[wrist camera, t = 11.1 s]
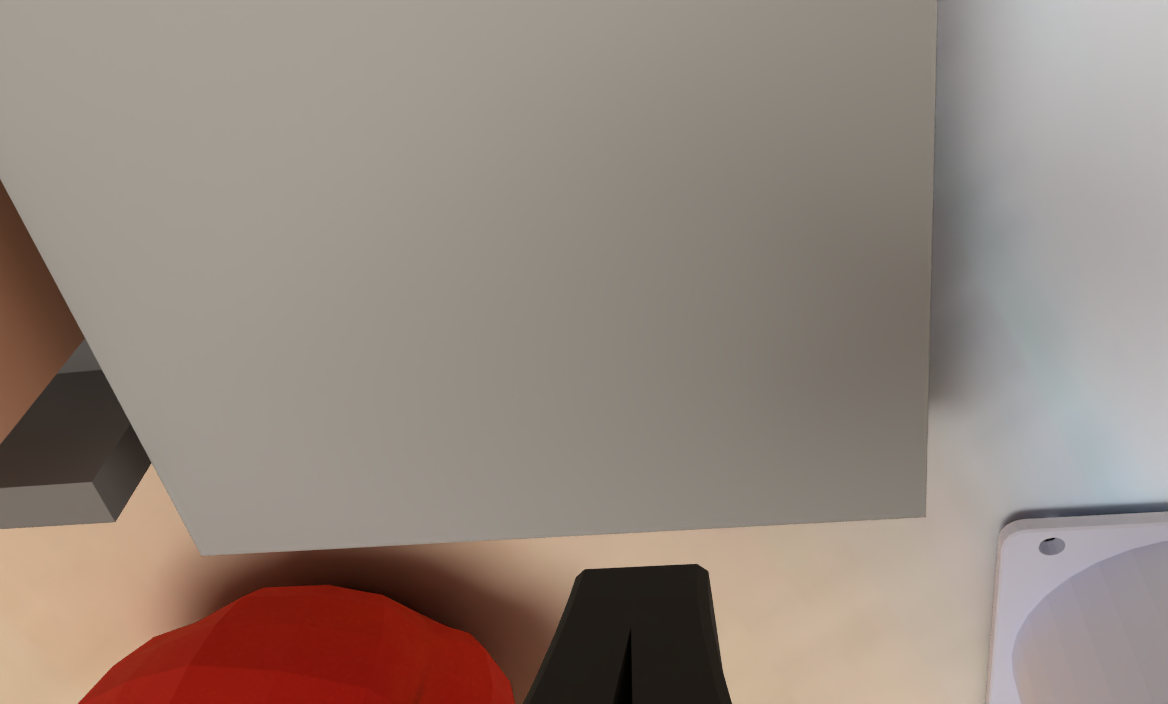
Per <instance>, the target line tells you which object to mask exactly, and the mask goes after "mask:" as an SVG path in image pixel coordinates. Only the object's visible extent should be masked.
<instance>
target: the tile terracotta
mask: <svg viewBox="0 0 1168 704" xmlns="http://www.w3.org/2000/svg"><path fill="white" fill-rule="evenodd" d="M84 339H85V337H84V335H83V333H82V331H81V329H80V327H79V326H78V324H77V322H76V320H75V318H74V316H73V314H72V313H71V311H70V309H69V307H68V305H67V303H66V301H65V299H64V298H63V296H62V294H61V292H60V290H59V288H58V286H57V284H56V283H55V281H54V279H53V277H52V275H51V273H50V271H49V269H48V268H47V266H46V264H45V262H44V260H43V258H42V256H41V254H40V253H39V251H38V249H37V247H36V245H35V243H34V241H33V239H32V238H31V236H30V234H29V232H28V230H27V228H26V226H25V224H24V223H23V221H22V219H21V217H20V215H19V213H18V211H17V209H16V208H15V206H14V204H13V202H12V200H11V198H10V196H9V194H8V193H7V191H6V189H5V187H4V185H3V183H2V181H1V179H0V444H1V443H2V442H3V440H4V439H5V438H6V437H7V435H8V434H9V433H10V432H11V430H12V429H13V428H14V427H15V425H16V424H17V423H18V422H19V420H20V419H21V418H22V417H23V415H24V414H25V413H26V412H27V410H28V409H29V408H30V407H31V405H32V404H33V403H34V402H35V400H36V399H37V398H38V397H39V395H40V394H41V393H42V392H43V390H44V389H45V388H46V386H47V385H48V384H49V383H50V381H51V380H52V379H53V378H54V376H55V375H56V374H57V373H58V371H59V370H60V369H61V368H62V366H63V365H64V364H65V363H66V361H67V360H68V359H69V358H70V356H71V355H72V354H73V353H74V351H75V350H76V349H77V348H78V346H79V345H80V344H81V343H82V341H83V340H84Z"/></svg>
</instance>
